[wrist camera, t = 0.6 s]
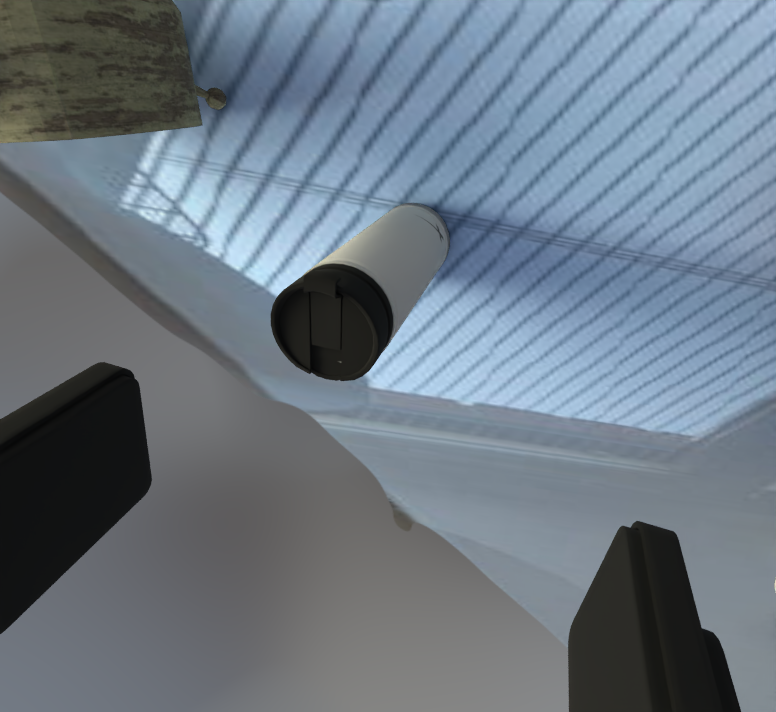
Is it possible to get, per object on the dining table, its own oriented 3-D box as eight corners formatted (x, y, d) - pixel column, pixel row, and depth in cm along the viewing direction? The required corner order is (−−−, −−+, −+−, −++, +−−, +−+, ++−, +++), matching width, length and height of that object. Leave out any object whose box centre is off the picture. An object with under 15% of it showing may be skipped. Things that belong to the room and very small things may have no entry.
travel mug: (456, 203, 41) (380, 287, 24) (445, 281, 44) (372, 403, 27) (381, 193, 42) (260, 265, 25) (376, 269, 45) (266, 378, 29)
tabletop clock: (107, 127, 47) (-268, 161, 26) (75, 8, 43) (-403, -67, 22) (246, 121, 43) (-64, 155, 22) (225, -11, 39) (-182, -126, 18)
